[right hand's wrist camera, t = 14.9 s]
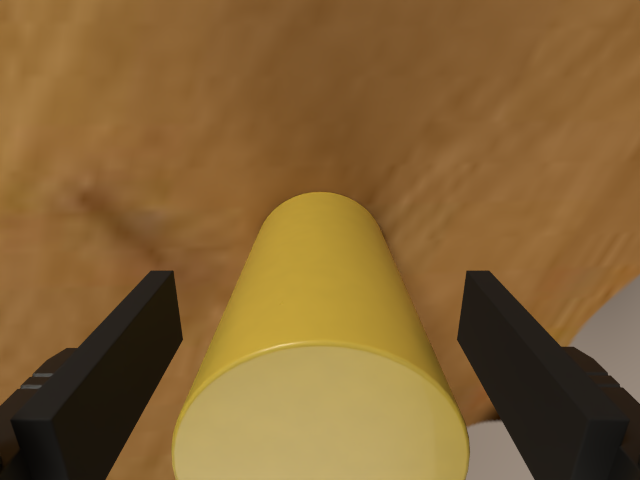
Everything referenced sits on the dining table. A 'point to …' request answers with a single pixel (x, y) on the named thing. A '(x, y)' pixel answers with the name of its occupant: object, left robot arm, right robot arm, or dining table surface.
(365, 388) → the cylinder
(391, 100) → the dining table surface
